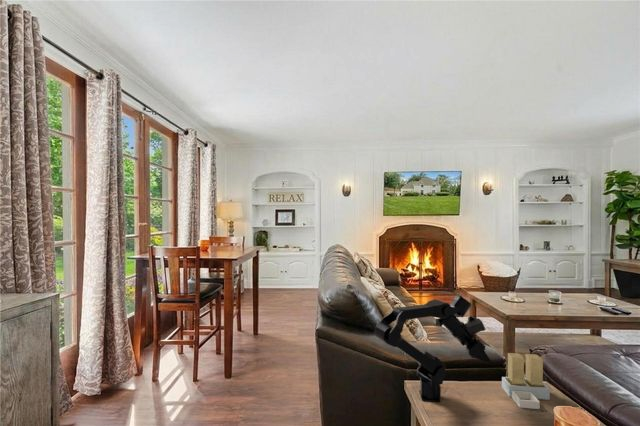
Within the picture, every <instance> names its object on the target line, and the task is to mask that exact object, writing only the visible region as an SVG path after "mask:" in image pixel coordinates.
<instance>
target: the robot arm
mask: <svg viewBox="0 0 640 426" xmlns="http://www.w3.org/2000/svg"><path fill="white" fill-rule="evenodd" d="M471 307H472V303H471V302H470V301H468V299H466V298H464V297H463V296H462V295H460V294H457V295H455V297H454V299H453V300H452V302H450V303H449V302H446V301H443V300H441V299H432V300H429V301H427V302H426V303H424V304H418V305H417V304H416V305H409V306H397V307H394V308H393V309H392V310H391V311H390V312H389V313H388V314H386V315H384V316H383V317H382V318H381V319H380V320H379V322H378V323H377V324H376V325H375V326H374V330H373V332H374V333H373V335H374V336H375V338H378V340H380V341H382V342H383V343H385V344H387V345H389V346H391V347H393V348H397V349H398V350H399V351H401V352H403V353H404V354H405V355H406V356H408V357H409V358H411V359H413V360H414V361H415V362H417V363H418V367H417V368H416V371H415V373H416V376H417V377H419V391H418V392H419V395H420V399H421V401H423V402H425V401H427V402H437V403H440V402H441V397H442V394H441V393H442V391H441V385H443V383H444V379H445V375H446V368H447V367H446V365H445V364H444V363H445V362H444V360H442V359H440V358H439V357H438V356H437V355H434V354H432V353H431V352H429V351H427V350H425V351H424V353H423V352H422V351H420V350H419V349H418V348H417V347H414V345H412V344H411V343H409V341H406V340H405V339H404V338H403V337H402V332H403V330H404V325H405V323H406V321H409V320H414V319H415V320H416V319H422V318H423V319H424V318H429V317H430V318H431V317H432V318H435V326H436V327H442V326H443V327H444V328H445V329H446V330H447V331H448V332H449V333H451V335H452V336H453V337H454V338H456V340H457V341H459V343H460V344H461V345H462V346H465V351H466V352H467V353H468V355H469V357H471V358H472V359H476V360H480V361H482V362H485V363H487V364H491V363H492V360H491V359H490V357H489V356H488V354H487V353H486V351H485V350H486V345H485V344H484V343H483V342H482V341H481V340H480V339H479V338H475V337H476V334H478V333H479V332H484V331H486V327H485V325H484V322H483V321H482V319H480V318H478V317H474V316H473V315H470V316H468V317H467V321H466V323H464V322H463V321H461V320H460V319H459V318H464V316H465V315H466V314H467V312H468V311H469V310H470V309H471ZM394 322H395V324H394V325H393V326H391V325H390V324H392V323H394Z"/></svg>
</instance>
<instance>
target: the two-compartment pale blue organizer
mask: <svg viewBox="0 0 640 426" xmlns="http://www.w3.org/2000/svg"><path fill="white" fill-rule="evenodd" d="M501 388H502V389H503V391H505V393H506V394H507V396H508V397H509V398H512V391H525V392H531V393H532V394H533V395H534V396H535V397H536V398H537V400H547V401H549V400H550V397H551V395H550V394H551V393H550V392H551V391H550V388H549V387H548V386H547V385H546V384H545V383H544V382H543V387H530V386H529V385H528V384H527V383H526V377H524V386H515V385H510V383H509V382H508V376H501Z"/></svg>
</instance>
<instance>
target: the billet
mask: <svg viewBox="0 0 640 426" xmlns="http://www.w3.org/2000/svg"><path fill="white" fill-rule="evenodd" d="M507 377H508V382H509V383H510V385H515V386H524V378H525V357H524V356H522V355H521V354H520V353H517V352H516V353H513V352H508V353H507Z"/></svg>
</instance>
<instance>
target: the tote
mask: <svg viewBox="0 0 640 426" xmlns="http://www.w3.org/2000/svg"><path fill="white" fill-rule="evenodd" d="M511 399H512V400H513V401H514V403H515V404H516V405H517V406H518V408H519V409H520V408H522V409H535V410H540V402H541V401H540V400H539V399H537V398H536V397H535V396H534V395H533V394H532V393H531V392H525V391H512V397H511Z"/></svg>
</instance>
